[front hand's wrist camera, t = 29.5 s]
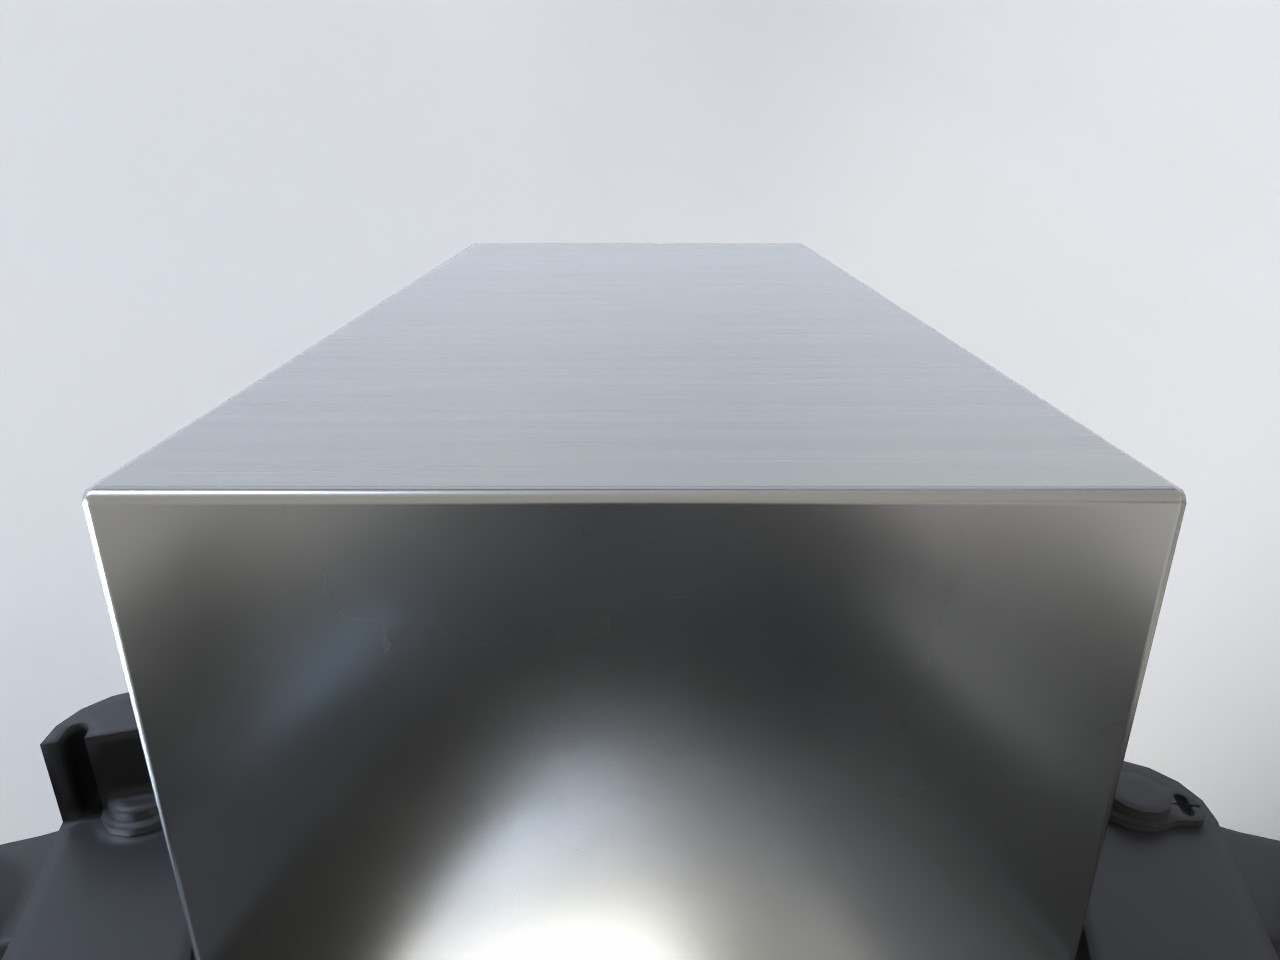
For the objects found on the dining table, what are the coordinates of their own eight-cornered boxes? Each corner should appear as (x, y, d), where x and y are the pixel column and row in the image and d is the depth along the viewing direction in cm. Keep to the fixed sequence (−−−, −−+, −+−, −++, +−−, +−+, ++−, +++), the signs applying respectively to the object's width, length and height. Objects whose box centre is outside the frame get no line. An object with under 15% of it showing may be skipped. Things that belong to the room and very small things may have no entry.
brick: (774, 706, 18) (954, 1470, 8) (502, 707, 18) (318, 1471, 8) (804, 243, 15) (1196, 492, 4) (471, 243, 15) (70, 492, 4)
